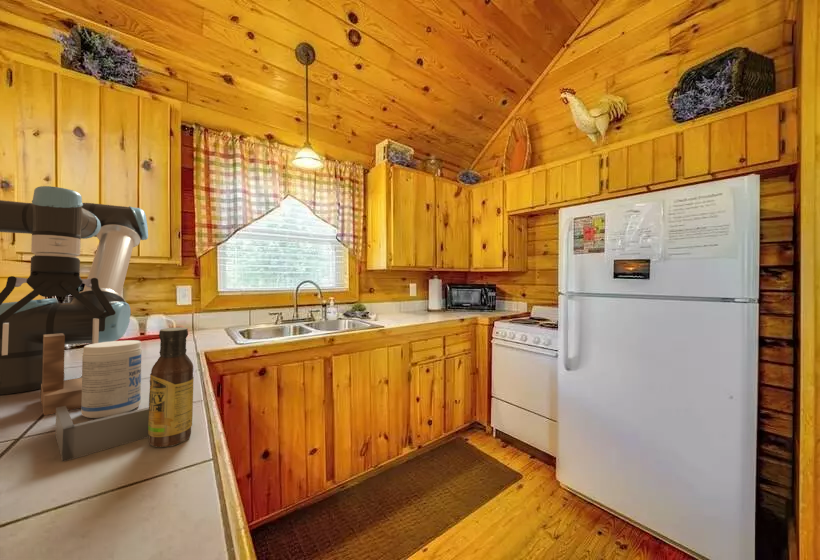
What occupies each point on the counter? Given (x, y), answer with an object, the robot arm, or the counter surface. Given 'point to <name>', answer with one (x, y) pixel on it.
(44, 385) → the wooden bracket
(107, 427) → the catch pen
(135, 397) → the supplement tub
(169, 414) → the sauce bottle
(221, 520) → the counter surface
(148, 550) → the counter surface
